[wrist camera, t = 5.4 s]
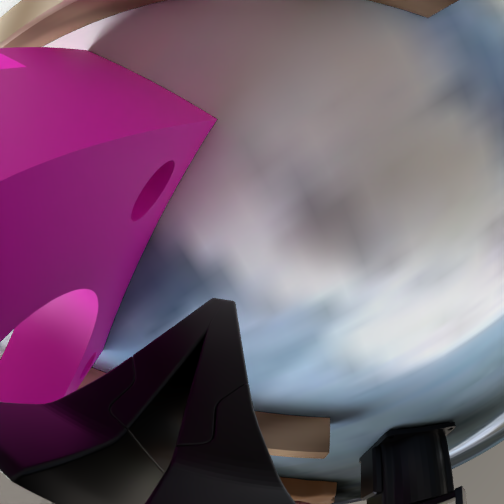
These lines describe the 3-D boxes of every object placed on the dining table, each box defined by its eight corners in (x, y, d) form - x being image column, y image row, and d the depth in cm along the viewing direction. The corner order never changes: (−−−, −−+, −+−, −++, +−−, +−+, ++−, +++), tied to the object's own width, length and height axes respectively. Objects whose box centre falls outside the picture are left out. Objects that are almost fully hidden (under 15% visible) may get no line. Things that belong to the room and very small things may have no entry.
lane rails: (424, -12, 4) (462, -41, 2) (325, 426, 15) (323, 464, 13) (-31, 80, 7) (-63, 88, 5) (38, 350, 18) (22, 371, 16)
